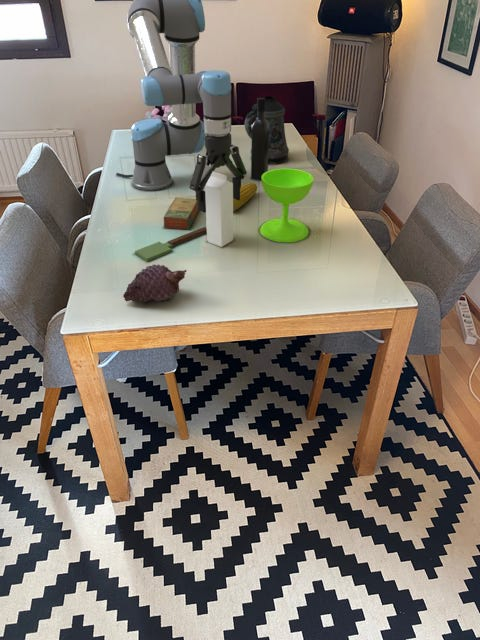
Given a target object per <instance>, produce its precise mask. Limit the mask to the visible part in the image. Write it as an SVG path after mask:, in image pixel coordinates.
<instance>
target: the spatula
mask: <svg viewBox="0 0 480 640" xmlns="http://www.w3.org/2000/svg"><path fill="white" fill-rule="evenodd" d="M205 234H207V226H203V227H200V228H198V229H196V230H193V231H190V232H187V233H185V234H181V235H180V236H178V237H175V238H173V239H170V240H167V242H164V243H162V242H161V241H157V242H154V243H152V244H149V245H146V246H144V247H141V248H139V249H137V250H135V251H134V254H135V255H136V256H138V257H139V258H141V259H142V260H144V261H145V262H147V263H148V262H150V261H152V260H155V259H158V258H160V257H163V256H164V255H167V254H170V253H172V251H173V250H172V248H174V247H176V246H178V245H180V244H183V243H185V242H188V241H190V240H193V239H195V238H198V237H200V236H203V235H205Z"/></svg>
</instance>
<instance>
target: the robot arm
mask: <svg viewBox="0 0 480 640" xmlns="http://www.w3.org/2000/svg"><path fill="white" fill-rule="evenodd" d="M126 25H127V29H128V32H129V34H130V36H131V37H132V38H133V39H134V42H135V45H136V49H137V53H138V55H139V59H140V62H141V66H142V70H143V73H144V76H143V77H142V78H141V81H140V86H141V95H142V100H143V103H144V104H145V106H148V107H162V106H167V105H172V113H171V114H170V115H169V117H168V122H163V119H162V120H161V119H157V118H156V119H154V118H151V119H147V118H144V119H145V120H143V119H141V120H139V121H137V122H135V123H134V124H133V125H132V126H131V128H130V130H131V131H130V132H131V137H130V138H131V141H132V148H133V149H132V150H133V159H134V168H133V173H132V174H124V173H120V172H116V173H115V175H116V176H119V177H122V178H132V179H131V182H132V186H133V187H134V189H137V190H141V191H151V192H152V191H160V190H164V189H166V188H168V187H170V186H171V185H172V184H173V177H172V175H171V172H170V170H169V167H168V164H167V161H166V157H168V156H181V155H192V154H197V155H196V163H195V167H194V171H193V174H192V177H191V180H190V183H189V187H188V188H189V190H191V191H194V192H195V199H196V201H198V211H199V212H201V213H203V214H206V197H205V185H206V183H207V181H208V179H209V178H210V177H211V174H212V172H215V171H216V169H218V168H221V167H225V166H226V168H227V169H228V170H229V172H230V173H231V174H232V175H233V177H231V178H232V179H231V180H232V181H231V182H232V183H233V198H234V199H236V200H240V188H241V186H242V180H243V179H245V176H246V175H247V173H248V171H247V169H246V166H245V164H244V162H243V159H242V157H241V155H240V147H239V146H237V145H235V144H232V134H231V132H232V82H231V74H230V73H229V72H228V71H226V70H225V71H224V70H219V69H218V70H199V71H198V72H197V73H196V44H197V43H198V42H199V41H200V33H203V32H204V31H205V30H206V17H205V11H204V5H203V2H202V0H133V2H132V3H131V4H130V6H129V8H128V10H127V15H126ZM161 34H163V38H164V40H165V41H166V42H167V43H168V50H169V60H168V56H167V53H166V50H165V47H164V44H163V41H162V38H161ZM196 104H202V106H203V107H202V108H203V109H202V110H203V121H202V119H201V117H200V116H199V115H198V114H197V113H196V111H197V110H196V109H197V108H196V106H197V105H196ZM204 147H205V150H206V151H205V154H200V152H201V151H202V150H203V148H204ZM230 156H231V158H232V159H231V158H230Z"/></svg>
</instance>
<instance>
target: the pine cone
mask: <svg viewBox="0 0 480 640" xmlns="http://www.w3.org/2000/svg"><path fill="white" fill-rule="evenodd" d="M186 273H187V269H184V270H174V271H172V270H171V269H169V267H167V266H165V265H164V264H162V265H161V264H155V263H154V264H152V265H149V266H146V267H145V268H142V269H141V271H140V272H138V273H136V274H135V277H134V279H133V280H132V281H131V282H130V283H128V284H127V287H126V290H125V292H124V293H123V296H122V297H123V299H124V301H125V302H130V301H131V302H133V303H135V302H137V303H139V302H144V303H145V302H149V301H150V302H152V300H154V301H156V302H161V301H166V300H169V299H170V298H173V297H174V295H176V294H178V292H179V291H180V282H181V281H182V280H184V279H185V278H186V277H185V276H186Z"/></svg>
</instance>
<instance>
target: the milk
mask: <svg viewBox="0 0 480 640" xmlns="http://www.w3.org/2000/svg"><path fill="white" fill-rule="evenodd" d="M227 178H228V176H227V175H226V174H223V173H219V172H216V171H213V172H212V174H211V176H210V177H209V179H208V181H207V183H206V185H205V187H204V191H205V197H206V213H205V218H206V219H205V220H206V221H205V223H206V228H207V233H206V243H209V244H213V245H215V246H218V247H221V248H222V247H224V246H226V245H228V244H229V243H231V242H233V241H234V210H233V183H232V181H229V180H228V179H227Z"/></svg>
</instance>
